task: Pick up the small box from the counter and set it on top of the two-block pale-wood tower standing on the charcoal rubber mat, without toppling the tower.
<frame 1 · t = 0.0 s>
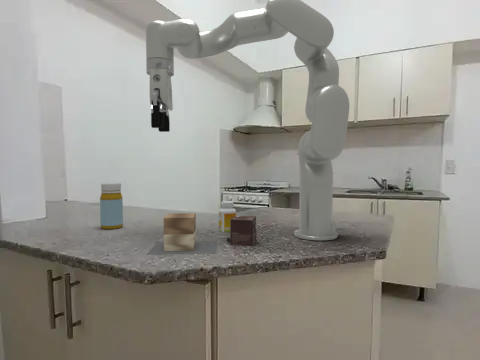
hand: (160, 129, 91), 31 cm above the worktop, fingers open, 9 cm apart
tower top: (180, 231, 80), point 5 cm above the worktop, touching tower base
tower base: (180, 247, 80), point 1 cm above the worktop, touching mat, tower top
bottle: (111, 228, 108), on the worktop
supplement bottle: (227, 233, 101), on the worktop
mat: (184, 249, 80), on the worktop
box: (243, 245, 85), on the worktop
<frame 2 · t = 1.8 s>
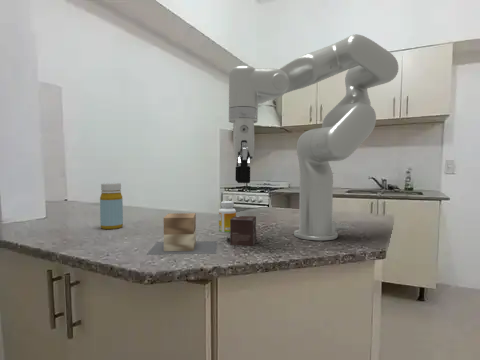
hand: (242, 182, 84), 17 cm above the worktop, fingers open, 9 cm apart
nothing on the worktop moved.
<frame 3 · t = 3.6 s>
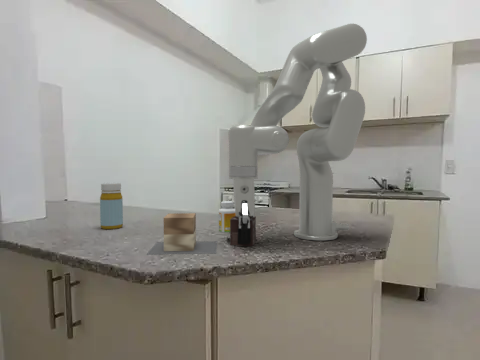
hand: (243, 239, 85), 1 cm above the worktop, fingers closed on box, 7 cm apart
box: (243, 245, 85), on the worktop, touching gripper
everything else where it was.
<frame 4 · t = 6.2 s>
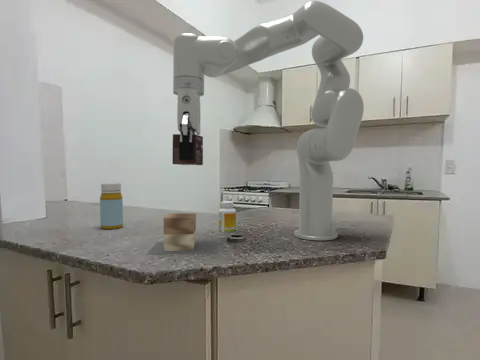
hand: (187, 159, 80), 22 cm above the worktop, fingers closed on box, 6 cm apart
box: (188, 165, 80), point 21 cm above the worktop, touching gripper
everything else where it was.
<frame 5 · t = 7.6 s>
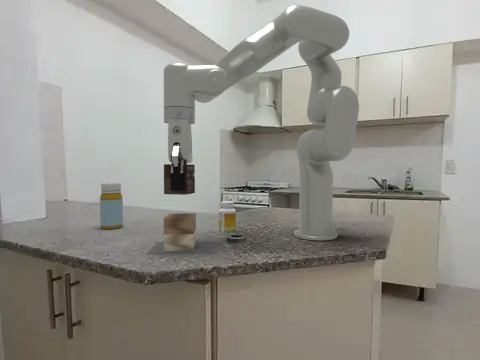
hand: (179, 188, 79), 15 cm above the worktop, fingers closed on box, 6 cm apart
box: (179, 194, 79), point 14 cm above the worktop, touching gripper
everything else where it was.
when the fingers open (11 cm above the worktop, at t = 8.9 s): box drops 1 cm, resting on tower top.
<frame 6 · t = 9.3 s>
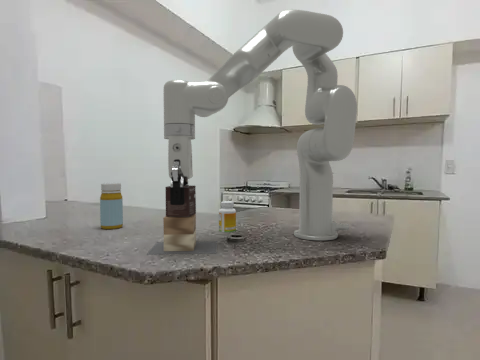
hand: (180, 202, 79), 12 cm above the worktop, fingers open, 9 cm apart
tower top: (180, 231, 80), point 5 cm above the worktop, touching box, tower base
box: (181, 216, 80), point 8 cm above the worktop, touching tower top
everything else where it was.
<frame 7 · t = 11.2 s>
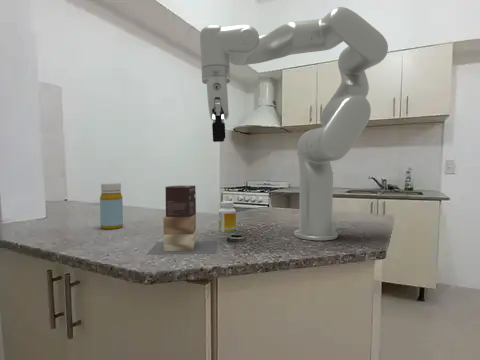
hand: (218, 140, 87), 28 cm above the worktop, fingers open, 9 cm apart
nothing on the worktop moved.
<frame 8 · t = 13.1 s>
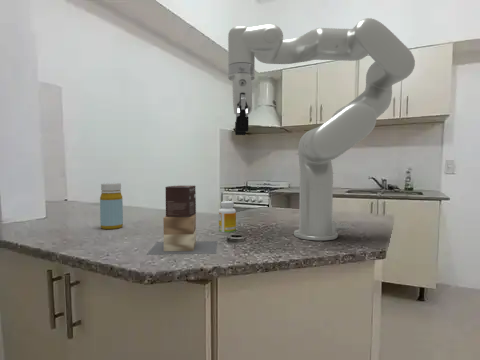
hand: (241, 133, 92), 30 cm above the worktop, fingers open, 9 cm apart
nothing on the worktop moved.
at the end: box 0.3 cm from the tower top (horizontally); box point 8.4 cm above the worktop; tower top tilted 0° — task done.
